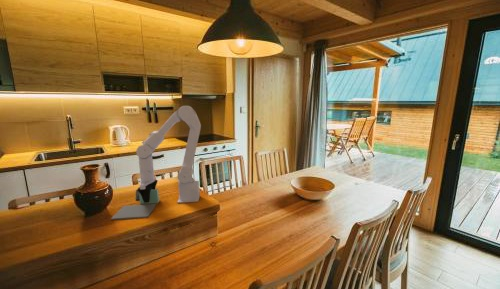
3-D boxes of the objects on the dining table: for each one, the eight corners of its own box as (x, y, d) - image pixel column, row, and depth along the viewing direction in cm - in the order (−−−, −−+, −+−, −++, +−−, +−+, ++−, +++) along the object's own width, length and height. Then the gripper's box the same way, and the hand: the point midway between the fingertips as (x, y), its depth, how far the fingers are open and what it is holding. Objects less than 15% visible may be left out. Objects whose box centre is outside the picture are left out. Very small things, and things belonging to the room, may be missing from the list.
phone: (152, 187, 126) (153, 196, 113) (152, 189, 126) (153, 198, 113) (136, 189, 123) (135, 199, 109) (136, 191, 123) (135, 201, 110)
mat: (156, 205, 105) (156, 203, 105) (148, 217, 93) (147, 216, 93) (124, 207, 103) (123, 205, 103) (111, 220, 91) (111, 218, 91)
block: (159, 201, 109) (158, 189, 108) (158, 203, 107) (157, 190, 106) (141, 202, 108) (140, 190, 107) (140, 204, 106) (138, 191, 105)
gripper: (143, 166, 112) (145, 193, 114) (131, 175, 98) (134, 206, 100) (158, 166, 113) (160, 192, 115) (148, 174, 98) (151, 205, 101)
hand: (149, 198), depth 107 cm, fingers open, 7 cm apart
